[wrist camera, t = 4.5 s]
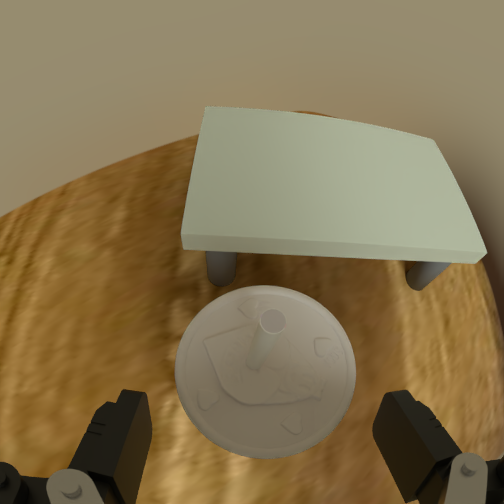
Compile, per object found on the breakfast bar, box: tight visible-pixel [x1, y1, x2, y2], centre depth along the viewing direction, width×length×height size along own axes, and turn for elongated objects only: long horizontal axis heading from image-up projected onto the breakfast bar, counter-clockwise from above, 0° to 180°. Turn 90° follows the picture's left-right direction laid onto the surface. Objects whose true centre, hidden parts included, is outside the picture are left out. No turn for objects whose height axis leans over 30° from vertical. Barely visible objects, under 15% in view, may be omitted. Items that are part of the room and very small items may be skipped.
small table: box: [181, 106, 487, 291], centre depth 22 cm, size 20×12×7 cm, turn 90°
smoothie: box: [175, 285, 356, 459], centre depth 12 cm, size 6×6×14 cm
